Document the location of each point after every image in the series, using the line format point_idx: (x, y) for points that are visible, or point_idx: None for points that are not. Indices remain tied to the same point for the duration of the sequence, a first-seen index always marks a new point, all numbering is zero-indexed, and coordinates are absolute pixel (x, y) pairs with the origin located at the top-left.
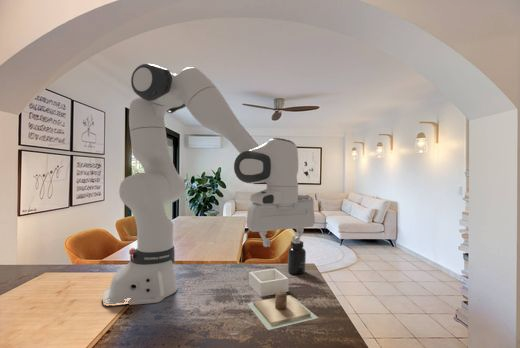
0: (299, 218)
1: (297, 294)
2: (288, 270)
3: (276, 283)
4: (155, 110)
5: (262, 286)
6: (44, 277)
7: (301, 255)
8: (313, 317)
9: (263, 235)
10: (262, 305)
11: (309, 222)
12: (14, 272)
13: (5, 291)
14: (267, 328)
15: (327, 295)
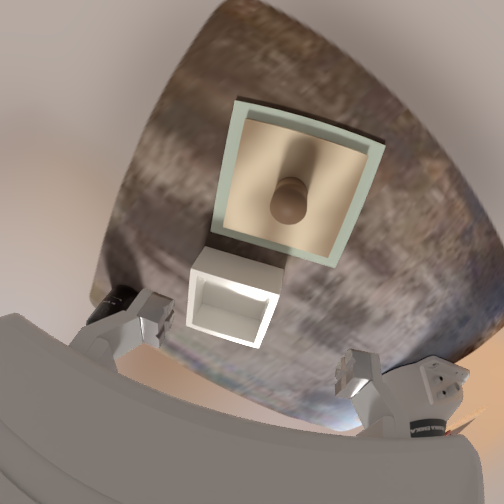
0: (62, 430)
1: (190, 226)
2: None
3: (232, 274)
4: None
5: (275, 286)
6: None
7: (102, 316)
8: (244, 109)
9: (401, 413)
10: (323, 231)
11: (12, 345)
12: None
13: (473, 419)
14: (382, 151)
15: (131, 178)
